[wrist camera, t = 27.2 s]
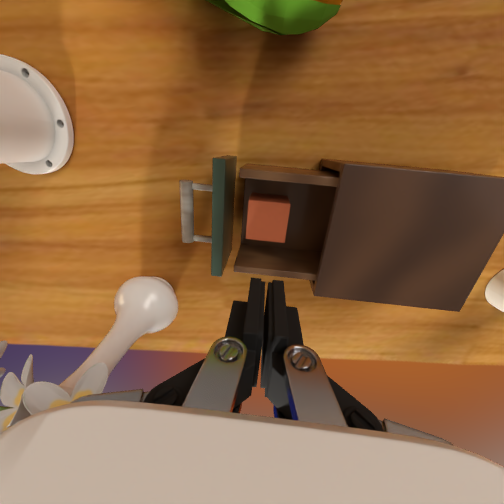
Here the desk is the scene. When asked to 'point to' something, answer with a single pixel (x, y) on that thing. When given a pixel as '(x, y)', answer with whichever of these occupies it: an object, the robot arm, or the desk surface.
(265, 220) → the block
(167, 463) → the robot arm
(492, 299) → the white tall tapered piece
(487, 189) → the cabinet
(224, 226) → the drawer
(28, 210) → the desk surface
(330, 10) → the corn
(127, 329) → the flower vase
